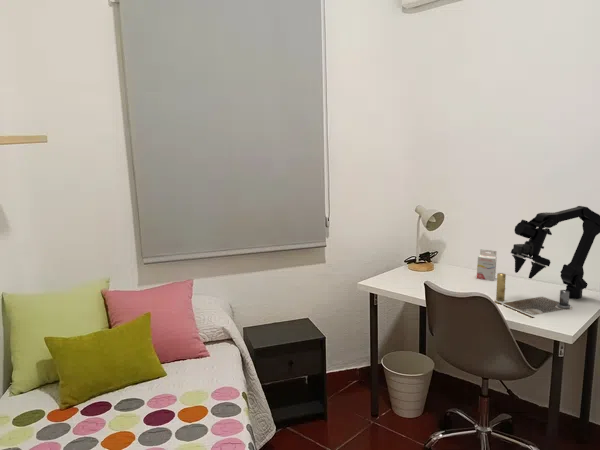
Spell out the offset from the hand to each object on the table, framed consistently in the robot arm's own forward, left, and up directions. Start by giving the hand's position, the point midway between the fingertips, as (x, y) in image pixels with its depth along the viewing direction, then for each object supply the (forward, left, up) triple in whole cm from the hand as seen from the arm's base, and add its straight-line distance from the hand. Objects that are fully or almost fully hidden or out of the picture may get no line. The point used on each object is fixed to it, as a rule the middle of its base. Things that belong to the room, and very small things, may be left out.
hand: (522, 275), depth 210 cm
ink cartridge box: (-14, -38, -14) cm, 43 cm away
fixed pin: (-11, +12, -12) cm, 20 cm away
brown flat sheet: (-3, +6, -13) cm, 15 cm away
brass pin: (+6, -6, -13) cm, 16 cm away
